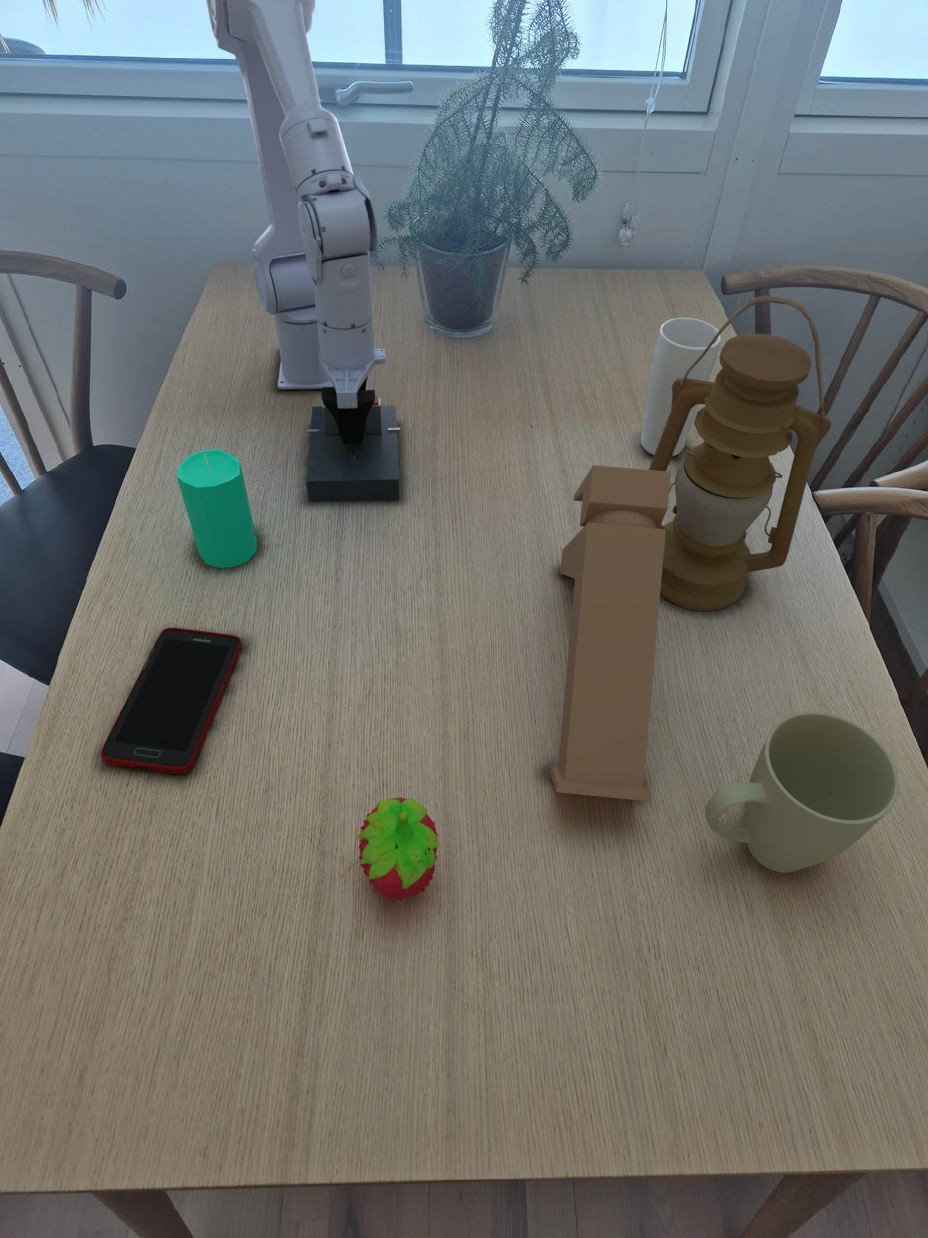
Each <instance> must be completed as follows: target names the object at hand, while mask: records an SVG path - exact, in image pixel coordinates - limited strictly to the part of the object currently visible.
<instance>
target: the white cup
mask: <svg viewBox="0 0 928 1238" xmlns="http://www.w3.org/2000/svg"><path fill="white" fill-rule="evenodd" d="M718 332H719V330H718V329H717V328H716V327H715V326H714V325H712V324H710V323H708V322H707V321H704V320H701V319H697V318H692V317H676V318H672V319H669V320H666V321H665V322H664V323H662V325H661V326H660V328H659V332H658V335H657V338H656V341H655V346H654V350H653V354H652V360H651V365H650V372H649V379H648V387H647V394H646V395H647V396H646V404H645V410H644V417H643V424H642V429H641V434H640V445H641V447H642V448H643V450H644V451H646V452H647V453H648V454H650V455H653V456H654V454H655V452H656V449H657V447H658V444H659V441H660V439H661V436H662V433H663V431H664V428H665V425H666V423H667V420H668V417H669V415H670V412H671V407H672V385H673V383H674V381H675V380H676V379H678V378H682V377H684V376H685V373H686V372H687V370H688V369H689V368H690V367H691V366H692V365H693V363H694V362H695V361H696V360H697V359H698V358H699V357H700V356H701V355H702V354H703V352H704V351H705V349H706V348H707V347H708V345H709V344H710V343H711V341H712V340H713V338H714V337H715V336H716V334H717V333H718ZM721 334H722V333H721ZM721 334H720V335H719V336H718V338H717V339H716V340H715V342H714V343H713V344H712V346H711V347H710V348H709V350H708V351H707V352H706V354H705V355H704V356H703V358H702V359H701V360H700V361H699V362H698V363H697V364H696V365H695V367H694V368H693V369H692V370H691V371H690V373H689V374H688V376H687V378H688V379H695V380H701V381H708V382H710V381H711V377H712V374H713V371H714V368H715V365H716V362H717V358H718V355H719V352H720V347H721V341H722V335H721ZM700 405H701V404H697V405H695V406H694V407H692V408H691V410H690V412H689V415H688V417H687V420H686V422H685V425H684V427H683V430H682V432H681V435H680V437H679V440H678V442H677V445H676V447H675V450H674V452H673V455H672V457H675V456H677V455H678V456H679V454H680V453H682V452H683V451H682V450H681V449H682V448H685V446H686V443H687V439H688V436H689V433H690V431H691V428H692V426H693V424H694V421H695V418H696V415H697V412H698V411H699V407H700Z"/></svg>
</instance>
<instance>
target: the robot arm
mask: <svg viewBox="0 0 928 1238" xmlns="http://www.w3.org/2000/svg"><path fill="white" fill-rule="evenodd" d="M205 1H206V7H207V12H208V16H209V21H210V26H211V31H212V34H213V37H214V38H215V41H216V46H217V48H218V49H219V50H222V51H224V52H227V53H229V54H232V55H233V56H234V57H235V58H234V59H235V60H236V63H237V65H238V68H239V72H240V73H241V77H242V79H243V80H242V81H243V85H244V86H243V87H244V92H245V96H246V102H247V107H248V112H249V118H250V123H251V129H252V134H253V138H254V143H255V149H256V154H257V160H258V165H259V170H260V177H261V180H262V181H261V182H262V185H263V186H262V187H263V191H264V196H265V201H266V202H265V203H266V207H267V212H268V217H269V226H268V227H267V228H266V230H265V231H264V232H263V233H262V234H261V235H260V236H259V238H258V239H256V241H255V242H254V244H253V246H252V251H251V254H252V261H253V274H254V281H255V286H256V291H257V294H258V298H259V302H260V304H261V306H262V308H263V310H264V311H265V312H266V313H268V314H269V316H273V315H274V322H275V329H276V335H277V343H278V349H279V355H280V364H279V373H278V379H277V388H278V389H279V390H321V395H320V396H321V401H322V402H323V404H324V406H325V407H326V408H327V409H328V410H329V412H330V413H331V414H332V416H333V418H334V420H335V422H336V425H337V428H338V430H339V434H340V436H341V439H342V441H343V443H344V444H345V445H357V444H362V442H363V438H364V432H365V424H366V419H367V415H368V413H369V411H370V409H371V407H372V406H373V404H374V401H375V397H376V390H375V389H367V382H368V378H369V374H370V373H371V372H372V370H373V368H374V367H375V366H377V365H383V364H385V363H386V351H385V349H383V348H375V342H374V323H373V321H374V320H373V303H372V283H371V282H372V281H371V266H370V265H371V264H370V262H371V261H370V253H369V252H371V253H374V252H376V250H377V246H378V225H377V224H378V223H377V217H376V212H375V207H374V204H373V201H372V198H371V195H370V193H369V191H368V190H367V188H366V187H365V186H364V185H363V182H362V179H361V177H360V176H359V175H355V174H354V171H353V168H352V165H351V161H350V157H349V154H348V151H347V147H346V144H345V141H344V137H343V134H342V131H341V128H340V124H339V121H338V118H337V117H336V116H335V115H334V114H333V113H332V112H330V111H329V110H327V109H325V108H324V107H322V103H321V99H320V93H319V88H318V85H317V79H316V75H315V70H314V66H313V61H312V55H311V52H310V47H309V42H308V37H307V34H308V33H309V32H310V31H311V30H312V25H313V14H314V12H315V9H316V2H317V1H316V0H205ZM322 402H321V403H322Z"/></svg>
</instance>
